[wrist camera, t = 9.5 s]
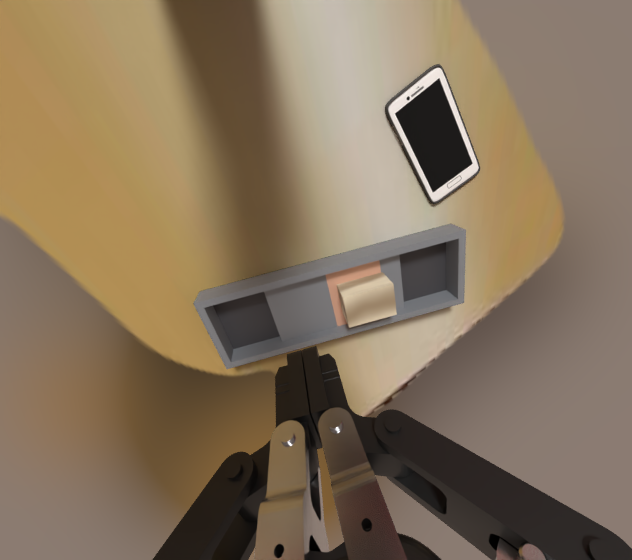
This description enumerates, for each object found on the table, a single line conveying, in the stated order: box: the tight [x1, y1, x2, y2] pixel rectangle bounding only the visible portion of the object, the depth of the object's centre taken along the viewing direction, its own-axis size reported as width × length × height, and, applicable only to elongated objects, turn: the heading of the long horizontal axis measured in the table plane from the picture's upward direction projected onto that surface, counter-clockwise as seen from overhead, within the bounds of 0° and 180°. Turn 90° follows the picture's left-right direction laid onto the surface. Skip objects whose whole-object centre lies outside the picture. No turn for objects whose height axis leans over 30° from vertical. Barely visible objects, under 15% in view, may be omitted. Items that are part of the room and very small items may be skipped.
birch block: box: [337, 272, 397, 328], centre depth 39 cm, size 5×7×4 cm
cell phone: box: [385, 64, 480, 204], centre depth 35 cm, size 8×15×1 cm, turn 36°
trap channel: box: [193, 224, 466, 369], centre depth 41 cm, size 12×38×4 cm, turn 103°
